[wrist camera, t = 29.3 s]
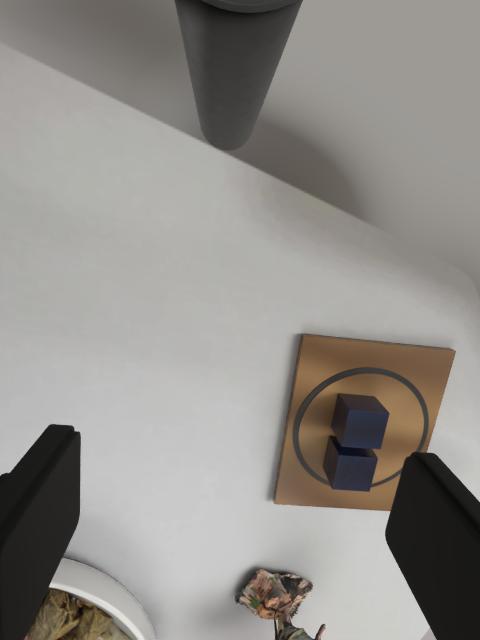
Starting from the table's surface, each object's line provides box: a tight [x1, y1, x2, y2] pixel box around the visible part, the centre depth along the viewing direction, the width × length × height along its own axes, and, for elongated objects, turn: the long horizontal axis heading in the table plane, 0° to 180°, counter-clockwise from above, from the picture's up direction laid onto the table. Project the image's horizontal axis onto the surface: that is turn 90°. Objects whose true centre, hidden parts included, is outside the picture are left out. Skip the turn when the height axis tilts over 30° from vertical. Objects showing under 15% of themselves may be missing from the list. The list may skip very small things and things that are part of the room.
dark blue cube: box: [331, 393, 390, 449], centre depth 37 cm, size 4×4×4 cm
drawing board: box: [273, 334, 456, 511], centre depth 40 cm, size 20×16×1 cm
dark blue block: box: [323, 435, 378, 492], centre depth 38 cm, size 4×4×4 cm
